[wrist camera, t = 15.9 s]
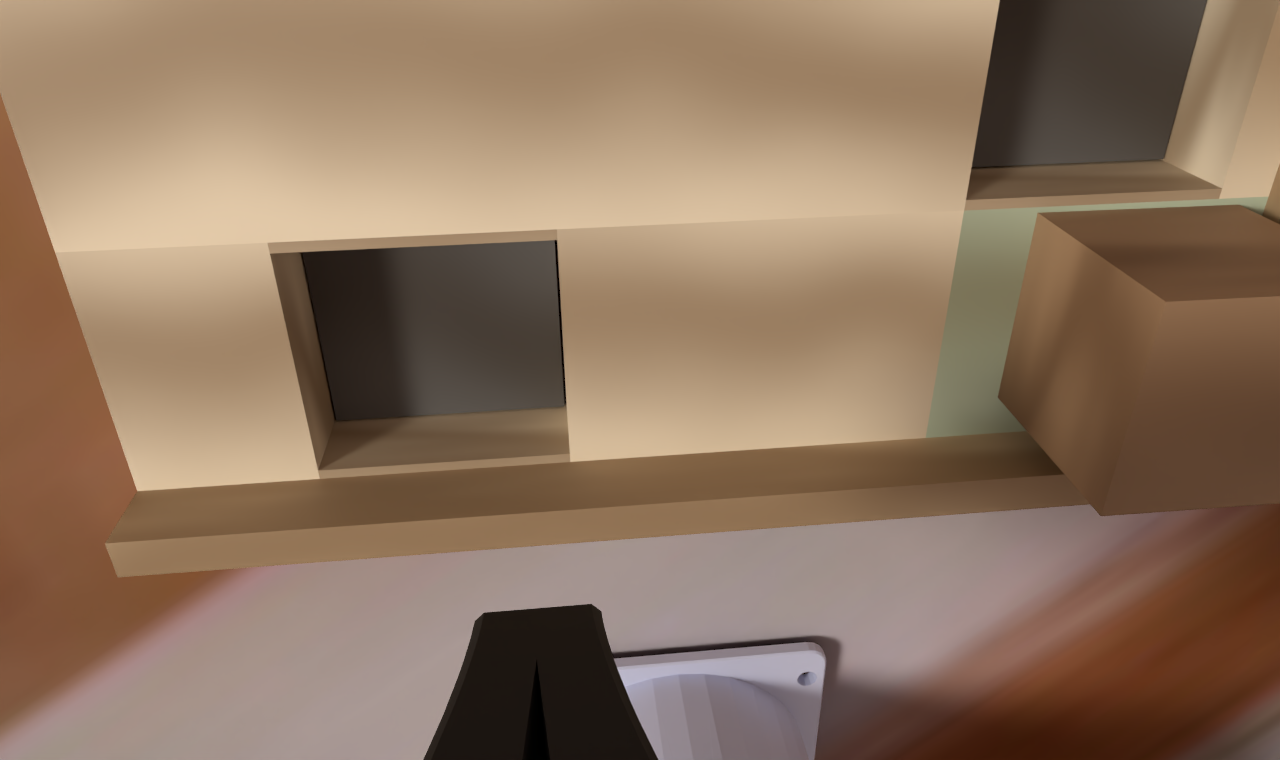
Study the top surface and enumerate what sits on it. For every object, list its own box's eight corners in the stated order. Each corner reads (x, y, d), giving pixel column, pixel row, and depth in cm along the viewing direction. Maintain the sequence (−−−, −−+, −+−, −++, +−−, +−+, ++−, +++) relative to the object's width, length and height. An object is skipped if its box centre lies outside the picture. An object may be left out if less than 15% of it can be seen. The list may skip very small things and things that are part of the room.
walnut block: (1178, 386, 20) (1319, 500, 16) (997, 397, 19) (1100, 516, 16) (1238, 204, 18) (1413, 289, 14) (1037, 212, 17) (1165, 302, 14)
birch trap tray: (1163, 402, 22) (1266, 491, 19) (181, 466, 20) (117, 576, 17) (1322, -105, 17) (1502, -97, 14) (10, -83, 15) (-127, -68, 12)
